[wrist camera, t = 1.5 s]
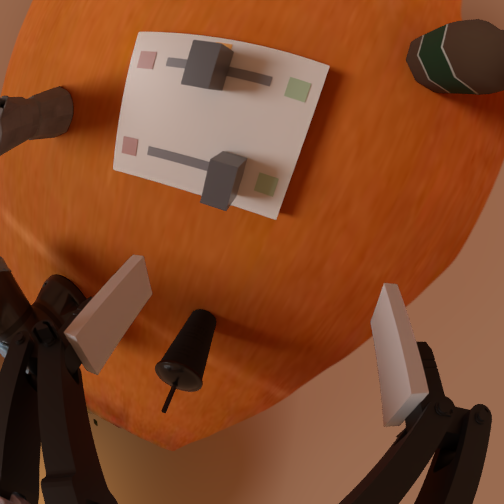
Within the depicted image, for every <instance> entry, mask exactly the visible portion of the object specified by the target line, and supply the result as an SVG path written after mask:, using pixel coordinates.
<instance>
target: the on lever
mask: <svg viewBox="0 0 504 504" xmlns="http://www.w3.org/2000/svg"><path fill="white" fill-rule="evenodd" d="M246 162H247V158H246V157H242V156H239V155H236V154H232V153H229V152H225V151H222V152H221V153H219V154H218V155H216V156H214V157H213V158H211V159H210V162H209V166H208V170H207V174H206V179H205V183H204V188H203V192H202V197H201V201H200V203H203V204H206V205H209V206H212V207H215V208H218V209H221V210H224V211H227V209H228V208H229V206H230V205H231V203H232V202H233V201H234V199H235V198H236V196H237V193H238V190H239V186H240V183H241V179H242V176H243V172H244V169H245V165H246Z"/></svg>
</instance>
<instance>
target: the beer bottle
mask: <svg viewBox="0 0 504 504" xmlns="http://www.w3.org/2000/svg"><path fill="white" fill-rule="evenodd" d="M406 61H407V63H408V65H409V67H410V70H411V72H412V74H413V76H414V78H415V80H416V81H417V82H418V83H420V84H422V85H424V86H425V87H427V88H429V89H430V90H432V91H433V92H436V93H460V94H478V95H480V94H491V93H495V92H499V91H503V90H504V30H500V29H498V28H497V27H496V26H494V25H492V24H491V23H489V22H487V21H483V20H479V19H476V20H465V21H457V22H453V23H449V24H446V25H444V26H442V27H440V28H437V29H435V30H433V31H431V32H429V33H427V34H425V35H423V36H421V37H419V38H416V39H415V40H413V41H412V42H411V44H410V48H409V51H408V54H407V58H406Z"/></svg>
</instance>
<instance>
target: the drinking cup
mask: <svg viewBox="0 0 504 504" xmlns="http://www.w3.org/2000/svg"><path fill="white" fill-rule="evenodd" d="M215 326H216V319H215V317H214V316H213V315H212V314H211V313H210V312H208V311H206V310H201V309H199V310H195V311H193V312H192V314H191V315H190V317H189V318H188V320H187V321H186V323H185V324H184V326H183V327H182V329H181V330H180V332H179V334H178V335H177V337H176V338H175V340H174V341H173V343H172V344H171V346H170V347H169V349H168V350H167V352H166V353H165V355H164V356H163V358H162V360H161V361H159V362H158V363H157V364H156V366H155V371H156V374H157V375H158V377H159V378H160V379H161V380H162V381H164V382H165V383H166V384H168V385H170V386H171V390H170V392H169V394H168V397H167V399H166V401H165V404H164V406H163V408H162V412H163V413H166V411H167V409H168V406H169V404H170V402H171V399H172V397H173V394H174V392H175V390H176V389H179V390H182V391H188V392H194V391H198V390H199V389H201V387H202V385H203V381H202V378H203V374H204V370H205V366H206V362H207V358H208V354H209V350H210V346H211V342H212V338H213V334H214V330H215Z"/></svg>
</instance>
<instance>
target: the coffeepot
mask: <svg viewBox="0 0 504 504" xmlns="http://www.w3.org/2000/svg"><path fill="white" fill-rule="evenodd" d="M72 116H73V102H72V98H71V95H70V93H69V92H68V91H67V90H65V89H63V88H61V87H60V86H59V87H56V88H53V89H50V90H47V91H44V92H42V93H39V94H36V95H34V96H32V97H30V98H28V99H25V98H23V97H8V96H2V97H1V98H0V156H1V155H2V154H4V153H6V152H7V151H9V150H11V149H12V148H14V147H16V146H17V145H19V144H21V143H23V142H25V141H26V140H28V139H29V140H34V139H44V138H54V137H56V136H58V135H61V134H63V133H65V132H66V131H67V129H68V127H69V125H70V123H71V120H72Z"/></svg>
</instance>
